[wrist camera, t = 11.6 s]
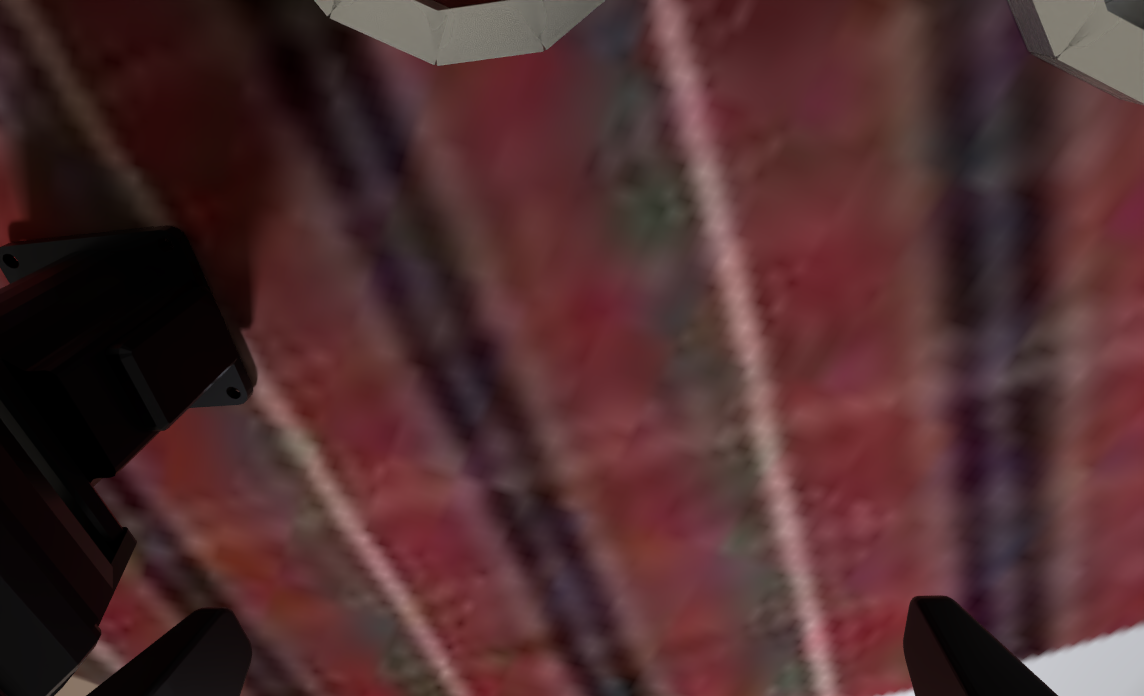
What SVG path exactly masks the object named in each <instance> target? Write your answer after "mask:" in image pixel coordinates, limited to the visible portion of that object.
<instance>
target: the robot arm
mask: <svg viewBox="0 0 1144 696" xmlns="http://www.w3.org/2000/svg"><path fill="white" fill-rule="evenodd" d="M165 238H167V239H168V240H170V241H171V242H172V244H173V246H174V248H172V247H171V246H169V245H168V244H167V242H166V239H165ZM14 257H15V258H16V259H17V260H18V261H17V260H16V259H15V258H14ZM0 268H1V270H2V271H3V273H4V275H5V276H6V278H7V280H8V281H9V283H10V284H9V285H7V286H5V287H3V288H1V289H0V696H54V695H55V694H56V693H57V692H58V691H59V690H60V689H61V688H62V687H63V686H64V685H65V684H66V682H67V681H68V680H69V679H70V677H71V676H72V675H73V674H74V672H75V671H76V670H77V668H78V667H79V666H80V665H81V663H82V662H83V661H84V660H85V659H86V657H87V656H88V655H89V654H90V652H91V651H92V650H93V649H94V647H95V646H96V644H97V642H98V640H99V638H100V636H101V629H100V628H99V627H98V626H99V624H100V622H101V620H102V617H103V615H104V613H105V611H106V609H107V607H108V604H109V602H110V600H111V598H112V596H113V594H114V591H115V589H116V587H117V585H118V583H119V581H120V578H121V576H122V574H123V572H124V570H125V568H126V565H127V563H128V561H129V559H130V557H131V554H132V552H133V550H134V548H135V546H136V543H137V541H136V540H135V538H134V537H133V535H132V534H131V533H130V531H129V530H128V528H127V527H121V525H120V524H119V522H118V521H117V520H116V518H115V517H114V515H113V514H112V513H111V511H110V510H109V508H108V507H107V506H106V504H105V503H104V501H103V500H102V499H101V497H100V496H99V494H98V493H97V492H96V490H95V489H94V486H95V485H96V484H97V483H98V482H99V481H100V480H101V479H102V478H110V477H113V476H115V475H116V474H117V473H118V472H119V471H120V470H121V469H122V468H123V467H124V466H125V465H126V464H127V463H128V462H129V461H130V460H131V459H132V458H134V457H135V456H136V455H137V454H138V453H139V452H140V451H141V450H142V449H143V448H144V447H145V446H146V445H147V444H148V443H149V442H150V441H151V440H152V439H153V438H154V437H155V436H156V435H157V434H158V433H159V432H160V431H164V430H166V429H168V428H169V427H170V426H171V425H172V424H173V423H174V422H175V421H176V420H177V419H178V418H179V417H180V416H181V415H182V414H183V413H184V412H185V411H186V410H187V409H188V408H195V407H210V406H226V405H239V404H243V403H244V402H246V401H247V400H248V398H249V397H250V396H251V395H252V393H253V386H252V384H251V382H250V379H249V377H248V375H247V372H246V370H245V368H244V366H243V363H242V361H241V359H240V357H239V354H238V352H237V350H236V347H235V345H234V343H233V341H232V338H231V336H230V334H229V332H228V329H227V327H226V325H225V323H224V320H223V318H222V316H221V313H220V311H219V309H218V307H217V304H216V302H215V300H214V298H213V295H212V293H211V291H210V288H209V286H208V284H207V282H206V279H205V277H204V275H203V273H202V270H201V268H200V266H199V263H198V261H197V259H196V257H195V254H194V252H193V250H192V248H191V245H190V243H189V241H188V239H187V237H186V236H185V234H184V233H183V232H182V231H181V230H179V229H178V228H176V227H173V226H158V227H149V228H139V229H130V230H120V231H111V232H102V233H92V234H83V235H74V236H64V237H55V238H46V239H36V240H27V241H17V242H11V243H8V244H6V245H4V246H2V247H0ZM233 387H235V388H236V389H238V390H239V391H240V392H237V391H236V390H235V389H234V388H233ZM903 648H904V655H905V659H906V663H907V667H908V671H909V674H910V678H911V682H912V685H913V689H914V693H915V696H1058V695H1057V694H1056V693H1054V692H1053V691H1052V690H1051V689H1050V688H1049V687H1048V686H1047V685H1046V684H1045V683H1044V682H1043V681H1042V680H1040V679H1039V678H1038V677H1037V676H1036V675H1035V674H1034V673H1033V672H1032V671H1030V670H1029V669H1028V668H1027V667H1026V666H1025V665H1024V664H1023V663H1022V662H1021V661H1020V660H1019V659H1018V658H1017V657H1015V656H1014V655H1013V654H1012V653H1011V652H1010V651H1009V650H1008V649H1007V648H1006V647H1005V646H1004V645H1002V644H1001V643H1000V642H999V641H998V640H997V639H996V638H995V637H994V636H993V635H992V634H990V633H989V632H988V631H987V630H986V629H985V628H984V627H983V626H982V625H981V624H980V623H979V622H977V621H976V620H975V619H974V618H973V617H972V616H971V615H970V614H969V613H968V612H967V611H965V610H964V609H963V608H962V607H961V606H960V605H959V604H958V603H957V602H956V601H954V600H953V599H951V598H949V597H947V596H915V597H914V598H913V599H912V600H911V602H910V605H909V610H908V616H907V621H906V627H905V632H904V638H903ZM251 658H252V646H251V643H250V641H249V639H248V637H247V635H246V634H245V632H244V630H243V628H242V627H241V625H240V623H239V621H238V620H237V618H236V616H235V614H234V613H233V611H232V610H230V609H229V608H226V607H206V608H201V609H198V610H196V611H194V612H193V613H191V614H190V615H189V616H187V617H186V618H185V619H184V620H182V621H181V622H180V623H178V624H177V625H176V626H175V627H173V628H172V629H171V630H169V631H168V632H167V633H166V634H164V635H163V636H162V637H161V638H159V639H158V640H157V641H155V642H154V643H153V644H152V645H150V646H149V647H148V648H146V649H145V650H144V651H143V652H141V653H140V654H139V655H138V656H136V657H135V658H134V659H132V660H131V661H130V662H129V663H127V664H126V665H125V666H123V667H122V668H121V669H120V670H118V671H117V672H116V673H115V674H113V675H112V676H111V677H109V678H108V679H107V680H106V681H104V682H103V683H102V684H101V685H99V686H98V687H97V688H95V689H94V690H93V691H92V692H91V693H89V694H88V695H86V696H240V693H241V690H242V687H243V684H244V681H245V678H246V675H247V672H248V669H249V666H250V663H251Z"/></svg>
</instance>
